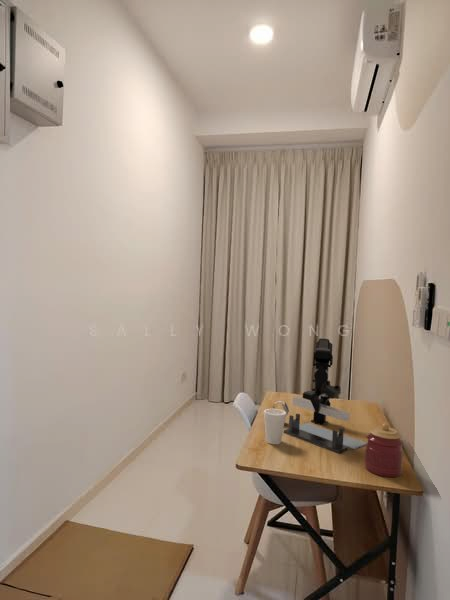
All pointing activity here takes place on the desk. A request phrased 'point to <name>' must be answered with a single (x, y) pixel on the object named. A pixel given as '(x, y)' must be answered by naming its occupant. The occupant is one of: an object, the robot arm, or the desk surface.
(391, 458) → the canister
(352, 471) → the desk surface
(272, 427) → the foam cup
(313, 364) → the robot arm
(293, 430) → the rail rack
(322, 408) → the rail
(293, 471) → the desk surface
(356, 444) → the mat
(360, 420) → the desk surface
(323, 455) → the desk surface
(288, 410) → the watch
